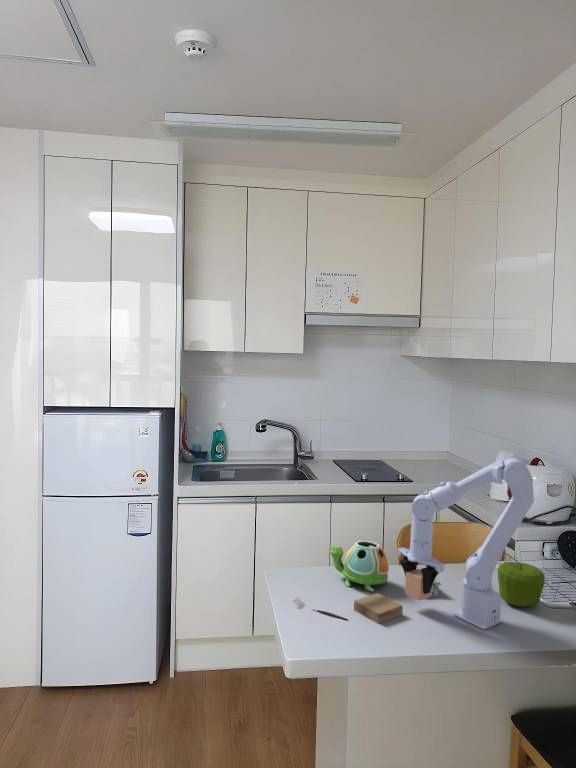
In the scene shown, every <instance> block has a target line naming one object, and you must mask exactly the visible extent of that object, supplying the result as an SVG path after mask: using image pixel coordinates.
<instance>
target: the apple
mask: <svg viewBox="0 0 576 768" xmlns="http://www.w3.org/2000/svg"><path fill="white" fill-rule="evenodd" d="M497 579H498V586H499V587H498V589H499V592H498V593H499V594H500V596H501V600H503V601H505V603H507V604H508V605H511V606H514V607H520V608H529V607H532V606H535V605H538V604H540V601H541V600H540V599H541V597H542V593H543V589H544V585H545V574H544V572H543V571H542V570H540V568H538V567H537V566H535V565H532V564H529V563H525V562H519V561H518V562H516V561H504V562H503V563H501V564H500V565H499V566H498V568H497Z"/></svg>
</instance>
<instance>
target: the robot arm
mask: <svg viewBox="0 0 576 768" xmlns="http://www.w3.org/2000/svg"><path fill="white" fill-rule="evenodd" d="M526 465H527V464H525V462H524V460H523V459H522V458H521V457H519V456H516V455H509V456H506V457H504V459H499V460H497V461H494V462H492V463H490V464H489V465H487V466H484V467H483V468H481V469H480V470H477V471H476V472H474V473H472V474H470V475H469V476H467V477H465V478H464V479H461V480H460V481H457V482H453V481H447V482H445V481H442V482H440V483H439V485H440V486H438V487H437V486H436V487H435V488H433V489H431V490H425V491H423V493H424V494H423V493H422V494H421V493H420V494H418V495H417V496H416V497H414V499H413V502H412V505H411V511H412V516H411V519H412V520H411V527H410V543H409V545H410V546H409V548H406V547H403V546H402V547H399V548H397V556H398V557H402V559H400V560H399V563H400V565H401V568H402V569H403V573H404V576H405V578H406V572H409V571H412V570H415V569H418V568H417V567H418V563H419V564H420V565H422V566H426V567H422V568H420V570H421V572H422V577H423V593H424V594H427V593H430V591H431V588H432V585H433V582H434V580H435V581H436V578H437V577H438V574H439V573H441V572H445V563H443V562H442V561H439V560H438V559H437V558H435V557H434V556H433V555H432V550H433V535H434V523H433V519H434V518H433V517H434V515H435V513H436V512H441V511H443V510H445V509H447V508H449V507H451V506H453V505H455V504H457V503H459V502H460V501H461V500H462V497H463V495H465V494H466V493H469V492H471V491H473V490H475V489H477V488H480V487H482V486H484V485H487V484H489V483H494V484H499V485H500V484H501V485H503V484H504V483H503V480H504V482H505V484H507V486H508V487H509V489H510V492H511V498H510V499H509V501H508V503H507V504H506V506H505V508H504V510H503V511H502V513H501V514H500V516H499V518H497V521H496V523H495V524H494V525H493V527H492V528H491V530H490V532H489V533H488V536H486V539H485V540H484V542H483V544H482V545H481V546H479V547H478V548H477V550H476V552H475V553H473V554H472V555H470V556H469V557H468V558H466V561H465V564H464V565H465V570H466V571H465V573H466V574H465V578H464V579H463V580H462V594H461V606H460V607H461V609H460V610H459V611H457V612H454V613H453V616H455V617H457V618H459V619H461V620H462V621H465V622H468V623H469V624H472V625H474V626H476V627H478V628H480V629H482V630H487V629H489V628H491V627H493V626H496V625H497V624H500V623H502V622H503V621H502V619H501V612H502V611H501V610H502V598H501V596H500V593H499V592H497V591H495V590H494V588H493V585H492V581H493V577H492V576H493V573H494V571H495V570H496V567H497V564H498V561H499V558H500V557H501V555H502V554H503V552H504V550H505V549H506V547H507V545H508V544H509V542H510V540H511V539H512V537H513V536H514V534H515V532H516V531H517V530H518V528H519V526H520V525H521V523H522V522H523V520H524V519H525V516H526V515H527V513H528V512H529V510H530V509H531V508H532V506H533V504H534V502H535V496H534V486H533V485H534V484H533V481H534V479H533V476H532V473H531V472H530V470H529V468H528V467H527V466H526Z"/></svg>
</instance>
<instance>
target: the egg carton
mask: <svg viewBox="0 0 576 768" xmlns="http://www.w3.org/2000/svg"><path fill="white" fill-rule="evenodd" d="M441 585H442V584H441V582H440V581H439V580H436V579H435V580H434V582H433V585H432V596H431V597H438V595H439V591H440V587H439V586H441Z"/></svg>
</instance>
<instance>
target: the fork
mask: <svg viewBox="0 0 576 768" xmlns="http://www.w3.org/2000/svg"><path fill="white" fill-rule="evenodd" d="M292 601H293V602H294V603H295V604H296V605H297V607H299V608H300V609H301V610H303V609H304V606H305V605H306V604H305V603H304V602H303V601H302V600H301V598H299V597H298V596H297V597H295V599H293V600H292ZM302 608H303V609H302ZM309 611H314V612H317V613H320V614H323V615H325V616H328V617H331V618H335V619H340V620H344V621H346V622H347V621H349V619H348V618H346V617H343V616H340V615H337V614H335V613H332V612H329V611H324V610H320V609H315V608H312V609H311V608H309Z"/></svg>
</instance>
